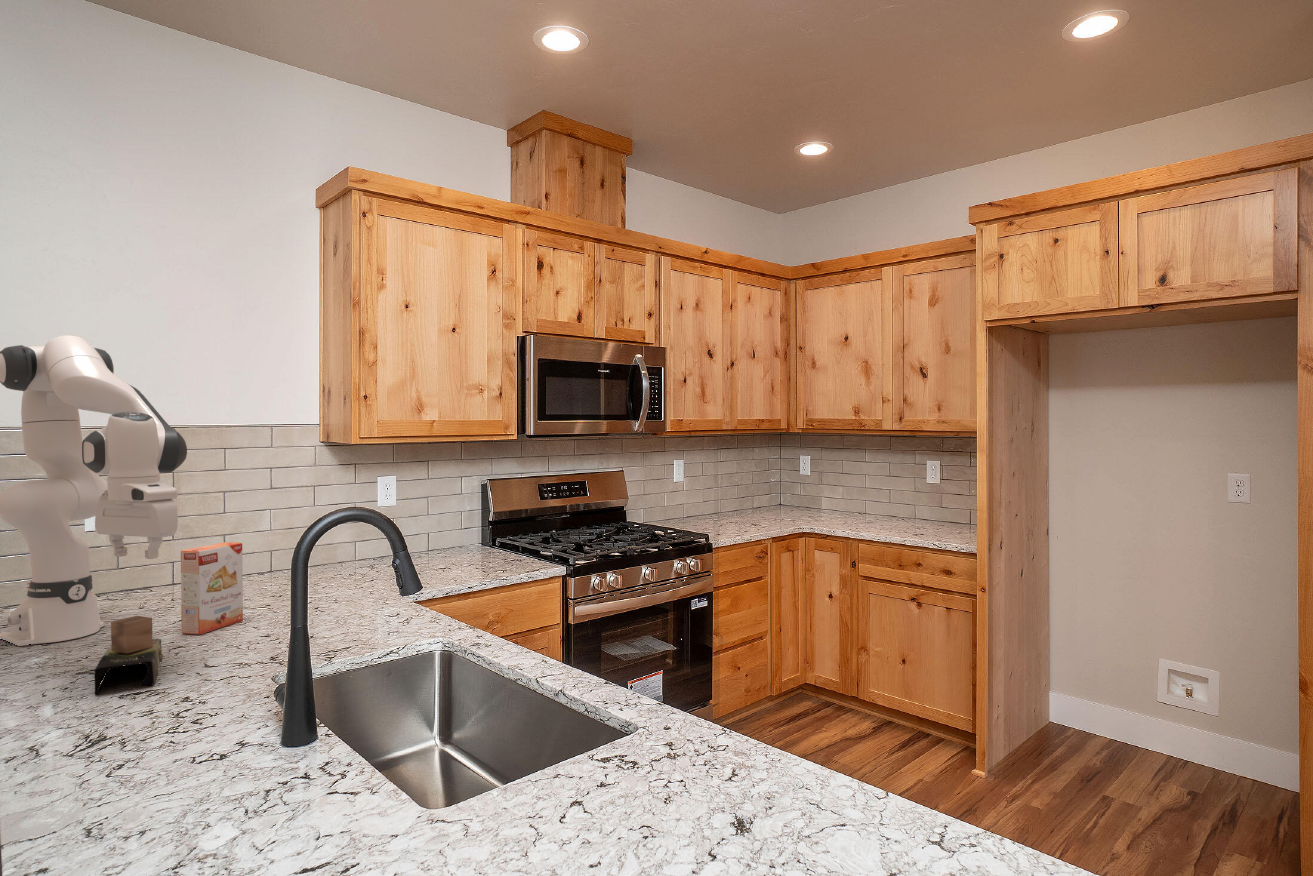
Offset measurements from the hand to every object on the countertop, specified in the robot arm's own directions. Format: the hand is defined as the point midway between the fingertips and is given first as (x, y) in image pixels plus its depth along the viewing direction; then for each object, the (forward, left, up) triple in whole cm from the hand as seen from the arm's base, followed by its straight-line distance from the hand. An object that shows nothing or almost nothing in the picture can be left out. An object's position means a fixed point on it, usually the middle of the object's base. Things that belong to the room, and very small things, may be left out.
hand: (136, 557), depth 149 cm
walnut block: (0, -1, -19) cm, 19 cm away
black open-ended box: (+1, -2, -25) cm, 25 cm away
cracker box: (-17, +30, -24) cm, 42 cm away
